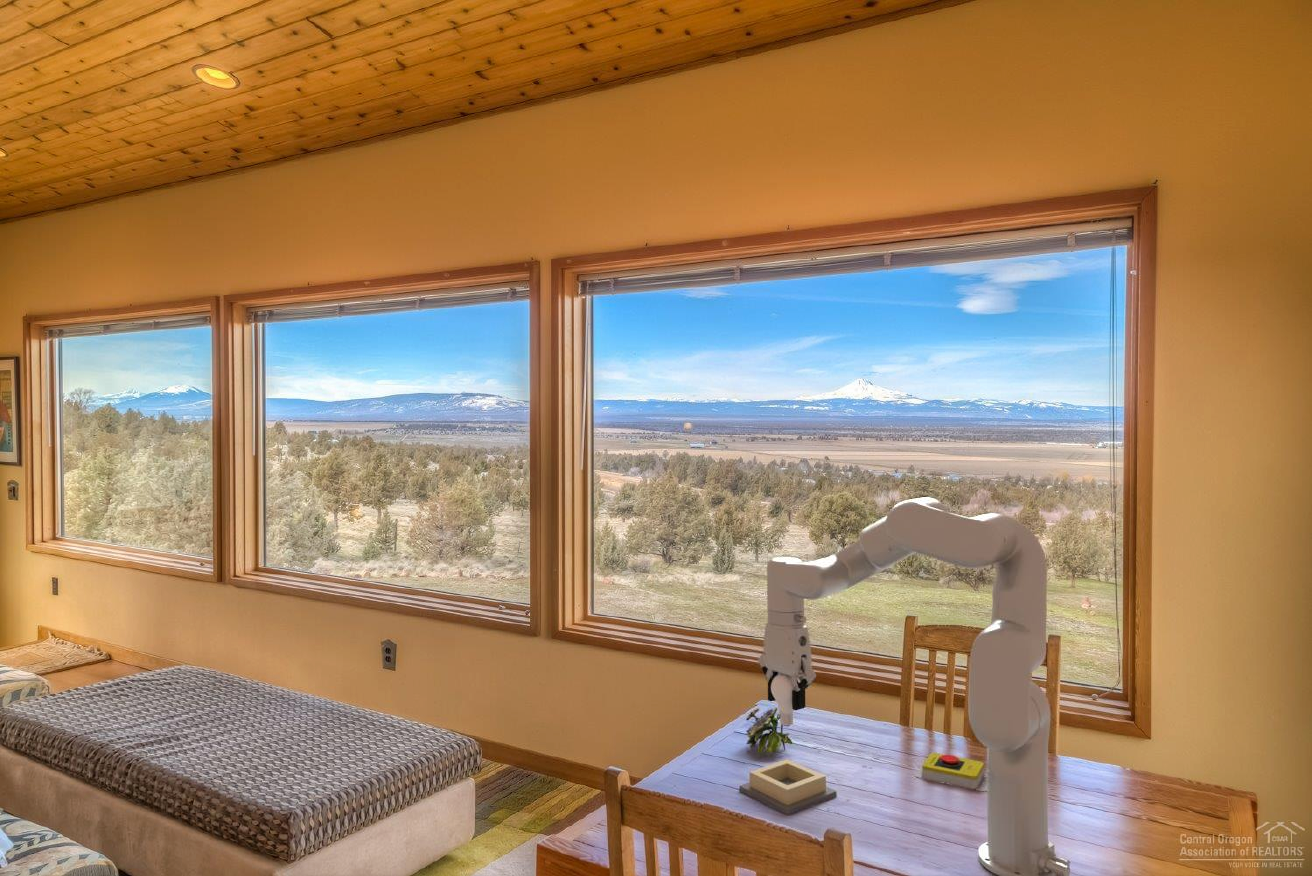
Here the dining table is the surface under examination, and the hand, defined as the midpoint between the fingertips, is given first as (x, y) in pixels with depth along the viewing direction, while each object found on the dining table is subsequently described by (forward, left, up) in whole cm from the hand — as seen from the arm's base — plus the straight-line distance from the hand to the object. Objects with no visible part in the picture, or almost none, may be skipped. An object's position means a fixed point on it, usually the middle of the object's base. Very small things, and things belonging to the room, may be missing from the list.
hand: (786, 703), depth 170 cm
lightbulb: (0, 0, -5) cm, 5 cm away
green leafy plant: (+20, -14, -19) cm, 31 cm away
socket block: (0, 0, -19) cm, 19 cm away
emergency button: (-16, -35, -19) cm, 43 cm away
